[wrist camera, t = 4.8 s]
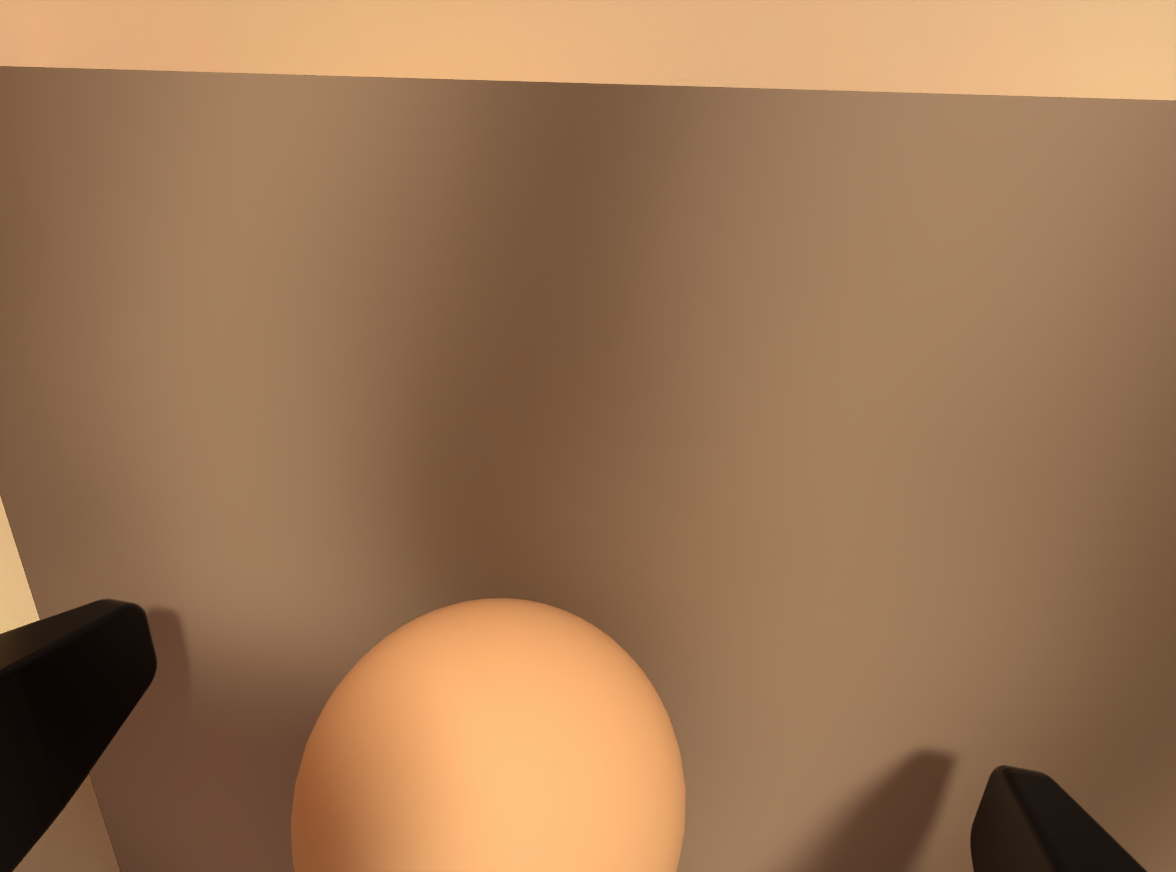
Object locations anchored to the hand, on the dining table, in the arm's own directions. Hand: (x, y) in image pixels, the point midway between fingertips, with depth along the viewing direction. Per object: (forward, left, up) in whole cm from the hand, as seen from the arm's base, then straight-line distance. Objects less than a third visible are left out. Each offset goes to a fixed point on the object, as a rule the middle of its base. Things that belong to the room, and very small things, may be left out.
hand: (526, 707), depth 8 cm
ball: (0, 0, +1) cm, 1 cm away
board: (0, +5, -3) cm, 6 cm away
